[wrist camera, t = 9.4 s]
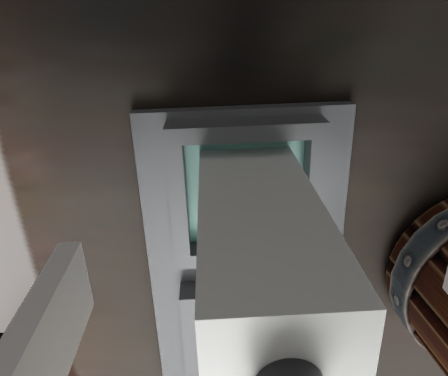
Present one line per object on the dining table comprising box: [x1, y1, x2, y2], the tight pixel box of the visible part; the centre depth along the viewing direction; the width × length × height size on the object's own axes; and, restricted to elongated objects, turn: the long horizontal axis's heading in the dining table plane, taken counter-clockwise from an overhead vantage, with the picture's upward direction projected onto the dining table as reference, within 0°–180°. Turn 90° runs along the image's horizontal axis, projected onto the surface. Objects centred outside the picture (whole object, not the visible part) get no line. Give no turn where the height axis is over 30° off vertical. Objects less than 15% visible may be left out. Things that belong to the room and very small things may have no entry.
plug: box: [195, 147, 387, 376], centre depth 15 cm, size 5×4×14 cm
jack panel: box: [130, 101, 356, 376], centre depth 23 cm, size 18×11×2 cm, turn 2°
